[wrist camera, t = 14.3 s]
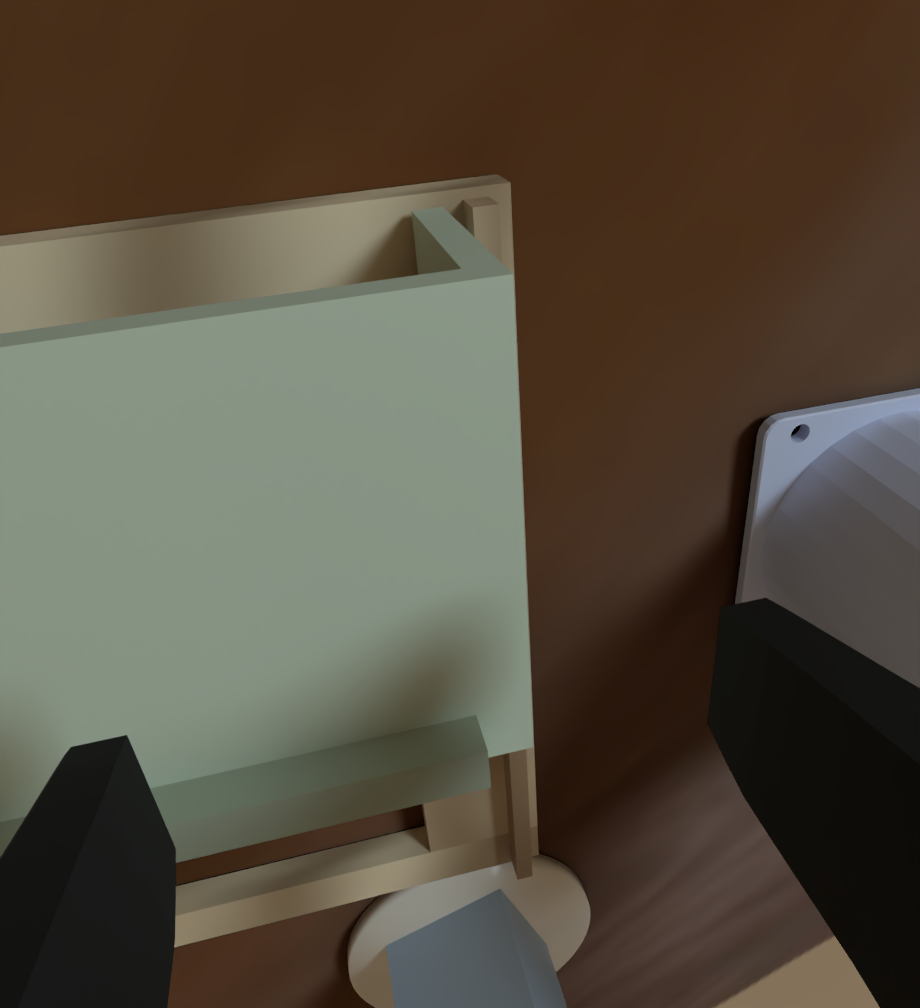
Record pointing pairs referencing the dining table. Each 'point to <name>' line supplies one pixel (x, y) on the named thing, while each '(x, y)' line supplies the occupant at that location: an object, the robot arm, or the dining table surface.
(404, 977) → the slate-blue block
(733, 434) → the dining table surface
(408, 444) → the sliding cover
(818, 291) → the dining table surface
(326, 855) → the beige open frame
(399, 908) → the cream saucer
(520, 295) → the dining table surface
